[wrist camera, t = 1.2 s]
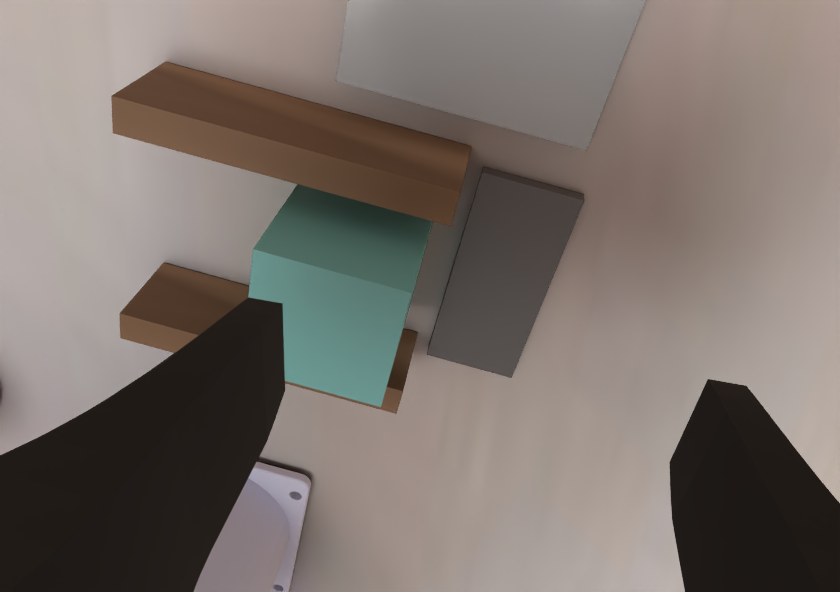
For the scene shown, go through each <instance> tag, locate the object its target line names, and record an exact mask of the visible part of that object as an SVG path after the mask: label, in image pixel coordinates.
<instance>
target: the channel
mask: <svg viewBox="0 0 840 592" xmlns="http://www.w3.org/2000/svg"><path fill="white" fill-rule="evenodd" d="M112 122H113V133H114V134H118V135H122V136H125V137H129V138H133V139H136V140H140V141H143V142H147V143H151V144H154V145H158V146H162V147H165V148H169V149H172V150H176V151H180V152H183V153H187V154H191V155H194V156H198V157H201V158H205V159H209V160H212V161H216V162H220V163H223V164H227V165H231V166H234V167H238V168H241V169H245V170H249V171H252V172H256V173H260V174H263V175H267V176H270V177H274V178H278V179H281V180H285V181H289V182H292V183H296V184H299V185H303V186H307V187H310V188H314V189H318V190H321V191H325V192H328V193H332V194H336V195H339V196H343V197H347V198H350V199H354V200H357V201H361V202H365V203H368V204H372V205H376V206H379V207H383V208H386V209H390V210H394V211H397V212H401V213H405V214H408V215H412V216H415V217H419V218H423V219H426V220H430V221H434V222H437V223H441V224H444V225H448V226H451V224H452V221H453V217H454V214H455V210H456V207H457V203H458V200H459V197H460V193H461V189H462V185H463V180H464V176H465V172H466V167H467V163H468V159H469V154H470V150H471V146H468V145H465V144H461V143H457V142H454V141H450V140H446V139H443V138H439V137H436V136H432V135H428V134H425V133H421V132H418V131H414V130H410V129H407V128H403V127H399V126H396V125H392V124H389V123H385V122H381V121H378V120H374V119H371V118H367V117H363V116H360V115H356V114H352V113H349V112H345V111H342V110H338V109H334V108H331V107H327V106H324V105H320V104H316V103H313V102H309V101H305V100H302V99H298V98H295V97H291V96H287V95H284V94H280V93H277V92H273V91H269V90H266V89H262V88H258V87H255V86H251V85H248V84H244V83H240V82H237V81H233V80H230V79H226V78H222V77H219V76H215V75H211V74H208V73H204V72H201V71H197V70H193V69H190V68H186V67H183V66H179V65H175V64H172V63H168V62H164V63H163V64H161V65H160V66H158V67H157V68H155V69H153V70H152V71H150V72H149V73H147V74H145V75H144V76H142V77H141V78H139V79H138V80H136V81H134V82H133V83H131V84H130V85H128V86H126V87H125V88H123V89H122V90H120V91H119V92H117V93H115V94H114V95H112ZM248 296H249V286H246V285H243V284H239V283H235V282H232V281H228V280H225V279H221V278H217V277H214V276H210V275H206V274H203V273H199V272H195V271H192V270H188V269H185V268H181V267H177V266H174V265H170V264H166V263H163V264H162V265H161V266H160V268H159V269H158V270H157V271H156V272H155V273H154V274H153V276H152V277H151V278H150V279H149V280H148V281H147V283H146V284H145V285H144V286H143V287H142V288H141V289H140V291H139V292H138V293H137V294H136V295H135V296H134V298H133V299H132V300H131V301H130V302H129V303H128V304H127V306H126V307H125V308H124V309H123V310H122V311H121V313H120V336H121V338H122V339H126V340H129V341H133V342H137V343H140V344H144V345H148V346H151V347H155V348H159V349H162V350H166V351H170V352H173V353H175V352H177V351H178V350H179V349H181V348H182V347H183V346H185V345H186V344H188V343H189V342H190V341H192V340H193V339H194V338H195V337H197V336H198V335H199V334H201V333H202V332H203V331H205V330H206V329H207V328H209V327H210V326H211V325H212V324H214V323H215V322H216V321H218V320H219V319H220V318H222V317H223V316H224V315H225V314H227V313H228V312H229V311H231V310H232V309H233V308H235V307H236V306H237V305H239V304H240V303H241V302H243V301H244V300H246V299H247V298H248ZM416 337H417V332H414V331H410V330H406V329H403V331H402V335H401V338H400V342H399V345H398V349H397V352H396V356H395V359H394V363H393V366H392V370H391V373H390V377H389V380H388V384H387V387H386V391H385V394H384V398H383V401H382V405H381V407H378V406H375V405H371V404H367V403H364V402H360V401H357V400H353V399H349V398H346V397H342V396H338V395H335V394H331V393H328V392H324V391H320V390H317V389H313V388H309V387H306V386H302V385H299V384H295V383H291V382H288V381H285V383H286V384H290V385H294V386H297V387H301V388H305V389H308V390H312V391H315V392H319V393H323V394H326V395H330V396H334V397H337V398H341V399H345V400H348V401H352V402H356V403H359V404H363V405H367V406H370V407H374V408H377V409H381V410H385V411H388V412H392V413H397V410H398V406H399V403H400V400H401V396H402V393H403V389H404V385H405V381H406V377H407V373H408V369H409V365H410V361H411V357H412V353H413V349H414V345H415V341H416Z"/></svg>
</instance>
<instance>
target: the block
mask: <svg viewBox="0 0 840 592" xmlns="http://www.w3.org/2000/svg"><path fill="white" fill-rule="evenodd" d="M432 223H433V221H430V220H426V219H423V218H419V217H415V216H412V215H408V214H405V213H401V212H397V211H394V210H390V209H386V208H383V207H379V206H376V205H372V204H368V203H365V202H361V201H357V200H354V199H350V198H347V197H343V196H339V195H336V194H332V193H328V192H325V191H321V190H318V189H314V188H310V187H307V186H303V185H299V184H298V185H297V186H296V188H295V189H294V191H293V192H292V193H291V195H290V196H289V198H288V199H287V201H286V202H285V204H284V205H283V206H282V208H281V209H280V211H279V212H278V214H277V215H276V217H275V218H274V220H273V221H272V222H271V224H270V225H269V227H268V228H267V230H266V231H265V233H264V234H263V236H262V237H261V238H260V240H259V241H258V243H257V244H256V246H255V247H254V249H253V255H252V265H251V275H250V286H249V296H248V297H249V298H255V299H260V300H266V301H272V302H277V303H283V335H284V369H285V381H288V382H291V383H295V384H299V385H302V386H306V387H309V388H313V389H317V390H320V391H324V392H328V393H331V394H335V395H338V396H342V397H346V398H349V399H353V400H357V401H360V402H364V403H367V404H371V405H375V406H378V407H381V405H382V401H383V398H384V394H385V391H386V387H387V384H388V380H389V377H390V373H391V370H392V366H393V363H394V359H395V356H396V352H397V349H398V345H399V342H400V338H401V335H402V331H403V328H404V324H405V321H406V317H407V314H408V310H409V307H410V303H411V300H412V296H413V292H414V289H415V285H416V281H417V278H418V274H419V270H420V267H421V263H422V259H423V256H424V252H425V248H426V245H427V241H428V237H429V234H430V230H431V226H432Z"/></svg>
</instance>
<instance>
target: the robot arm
mask: <svg viewBox="0 0 840 592" xmlns="http://www.w3.org/2000/svg"><path fill="white" fill-rule="evenodd" d="M284 392H285V369H284V335H283V303H277V302H272V301H266V300H260V299H255V298H249V297H248V298H247V299H246V300H244V301H243V302H241V303H240V304H239V305H237V306H236V307H235V308H233V309H232V310H231V311H229V312H228V313H227V314H225V315H224V316H223V317H222V318H220V319H219V320H218V321H216V322H215V323H214V324H212V325H211V326H210V327H209V328H207V329H206V330H205V331H203V332H202V333H201V334H199V335H198V336H197V337H195V338H194V339H193V340H192V341H190V342H189V343H188V344H186V345H185V346H183V347H182V348H181V349H179V350H178V351H177V352H175V353H174V354H172V355H171V356H170V357H168V358H167V359H166V360H164V361H163V362H161V363H160V364H159V365H157V366H156V367H154V368H153V369H152V370H150V371H149V372H147V373H146V374H144V375H143V376H141V377H140V378H138V379H137V380H135V381H134V382H132V383H131V384H129V385H128V386H126V387H125V388H123V389H121V390H120V391H118V392H117V393H115V394H114V395H112V396H111V397H109V398H108V399H106V400H105V401H103V402H101V403H100V404H98V405H96V406H95V407H93V408H91V409H90V410H88V411H86V412H84V413H83V414H81V415H79V416H77V417H76V418H74V419H72V420H70V421H68V422H66V423H65V424H63V425H61V426H59V427H57V428H55V429H54V430H52V431H50V432H48V433H46V434H44V435H42V436H40V437H38V438H36V439H34V440H32V441H30V442H28V443H26V444H24V445H22V446H19V447H17V448H15V449H13V450H11V451H9V452H7V453H5V454H2V455H0V592H289V590H290V585H291V580H292V575H293V570H294V565H295V561H296V556H297V551H298V546H299V541H300V536H301V531H302V527H303V522H304V517H305V512H306V507H307V502H308V497H309V493H310V488H311V481H310V480H309V478H308V477H307V476H305V475H303V474H300V473H297V472H293V471H289V470H286V469H282V468H279V467H275V466H271V465H268V464H264V463H260V462H257V460H258V458H259V456H260V454H261V452H262V450H263V448H264V446H265V444H266V442H267V439H268V437H269V434H270V431H271V429H272V426H273V423H274V420H275V418H276V415H277V412H278V409H279V406H280V403H281V400H282V397H283V395H284ZM670 486H671V506H672V520H673V526H674V532H675V538H676V544H677V549H678V555H679V561H680V566H681V572H682V577H683V582H684V588H685V592H840V503H839V502H838V501H837V500H836V499H835V497H834V496H833V495H832V494H831V493H830V491H829V490H828V489H827V488H826V487H825V485H824V484H823V483H822V482H821V480H820V479H819V478H818V477H817V475H816V474H815V473H814V472H813V471H812V469H811V468H810V467H809V466H808V464H807V463H806V462H805V460H804V459H803V458H802V457H801V455H800V454H799V453H798V452H797V450H796V449H795V448H794V446H793V445H792V444H791V443H790V441H789V440H788V439H787V437H786V436H785V435H784V434H783V432H782V431H781V430H780V428H779V427H778V426H777V424H776V423H775V422H774V421H773V419H772V418H771V417H770V415H769V414H768V413H767V411H766V410H765V409H764V408H763V406H762V405H761V404H760V402H759V401H758V400H757V399H756V397H755V396H754V395H753V394H752V392H751V391H750V390H749V389H748V388H747V386H744V385H738V384H732V383H727V382H721V381H716V380H710V379H708V380H707V383H706V385H705V387H704V389H703V391H702V393H701V396H700V398H699V400H698V402H697V404H696V406H695V409H694V411H693V413H692V415H691V417H690V419H689V422H688V424H687V426H686V428H685V430H684V432H683V435H682V437H681V439H680V441H679V443H678V445H677V448H676V450H675V452H674V454H673V456H672V458H671V460H670Z"/></svg>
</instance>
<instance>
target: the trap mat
mask: <svg viewBox="0 0 840 592" xmlns="http://www.w3.org/2000/svg"><path fill="white" fill-rule="evenodd" d="M583 202H584V194H580V193H577V192H573V191H569V190H566V189H562V188H558V187H555V186H551V185H548V184H544V183H540V182H537V181H533V180H530V179H526V178H522V177H519V176H515V175H511V174H508V173H504V172H501V171H497V170H493V169H490V168H486V167H483V170H482V173H481V177H480V180H479V183H478V187H477V190H476V193H475V196H474V200H473V203H472V206H471V209H470V213H469V216H468V219H467V223H466V226H465V229H464V232H463V236H462V239H461V242H460V246H459V249H458V252H457V255H456V259H455V262H454V265H453V269H452V272H451V275H450V278H449V282H448V285H447V288H446V291H445V295H444V298H443V301H442V305H441V308H440V311H439V314H438V318H437V321H436V324H435V328H434V331H433V334H432V337H431V341H430V344H429V347H428V352H427V355H430V356H434V357H438V358H441V359H445V360H448V361H452V362H456V363H459V364H463V365H467V366H470V367H474V368H478V369H481V370H485V371H489V372H492V373H496V374H499V375H503V376H507V377H510V378H512V375H513V373H514V370H515V368H516V365H517V363H518V361H519V358H520V356H521V353H522V351H523V348H524V346H525V344H526V341H527V339H528V336H529V334H530V331H531V329H532V326H533V324H534V322H535V319H536V317H537V314H538V312H539V309H540V307H541V305H542V302H543V300H544V297H545V295H546V292H547V290H548V288H549V285H550V283H551V280H552V278H553V275H554V273H555V271H556V268H557V266H558V263H559V261H560V258H561V256H562V254H563V251H564V249H565V246H566V244H567V241H568V239H569V236H570V234H571V232H572V229H573V227H574V224H575V222H576V219H577V217H578V215H579V212H580V210H581V207H582V205H583Z"/></svg>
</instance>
